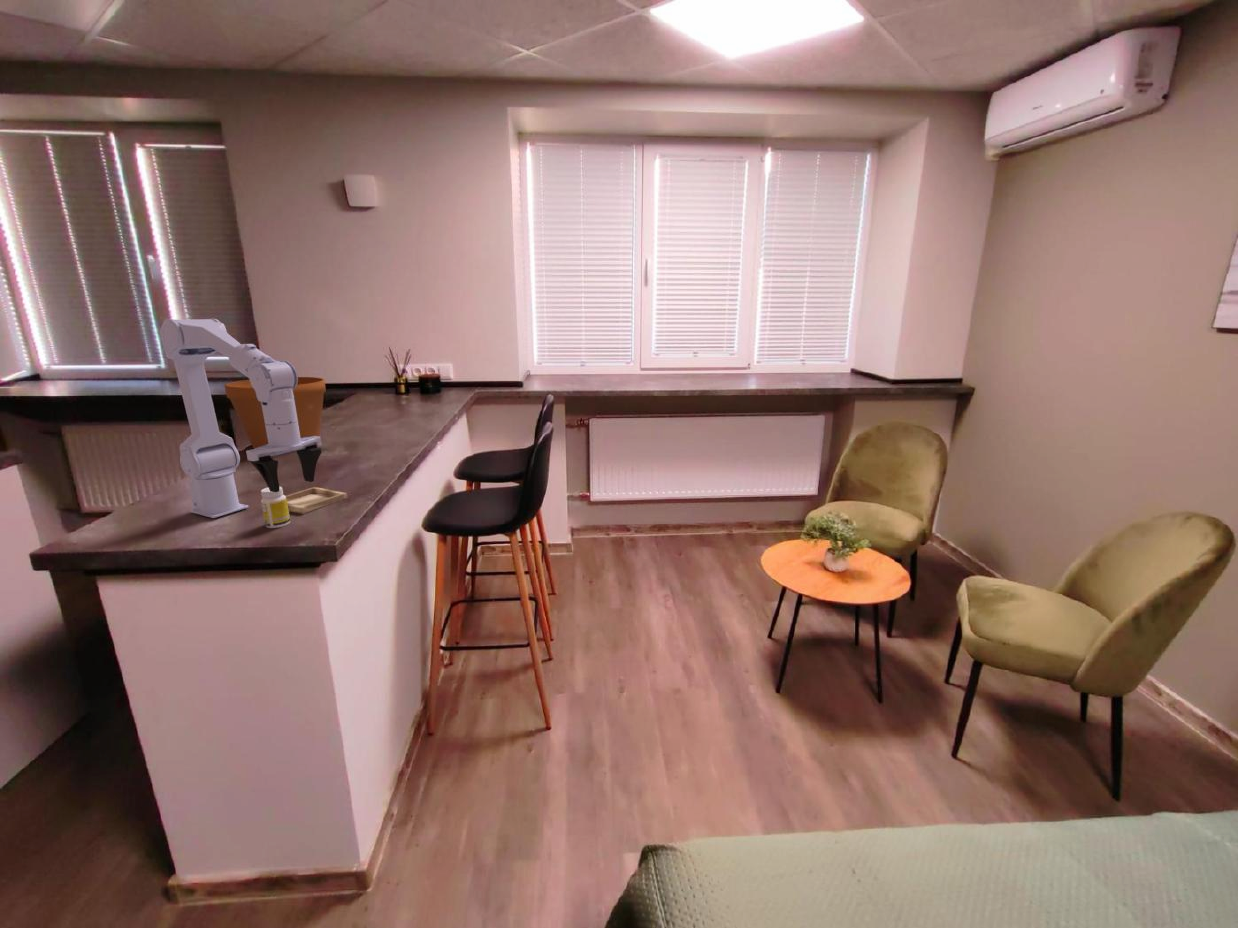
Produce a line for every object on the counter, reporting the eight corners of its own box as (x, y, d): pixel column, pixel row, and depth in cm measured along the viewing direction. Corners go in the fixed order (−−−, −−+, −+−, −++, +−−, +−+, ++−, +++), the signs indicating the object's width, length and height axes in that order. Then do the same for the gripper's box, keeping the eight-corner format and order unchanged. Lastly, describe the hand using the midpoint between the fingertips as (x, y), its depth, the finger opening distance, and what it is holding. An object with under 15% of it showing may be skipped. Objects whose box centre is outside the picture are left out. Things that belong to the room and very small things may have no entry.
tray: (270, 507, 130) (269, 500, 130) (315, 493, 141) (314, 486, 140) (303, 515, 125) (302, 508, 125) (347, 499, 136) (346, 493, 135)
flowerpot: (291, 464, 167) (279, 388, 161) (216, 459, 173) (201, 386, 166) (351, 443, 194) (342, 378, 187) (285, 439, 199) (274, 376, 193)
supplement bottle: (294, 520, 123) (288, 485, 120) (283, 528, 118) (276, 492, 116) (273, 520, 122) (266, 485, 120) (260, 528, 118) (253, 492, 116)
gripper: (257, 431, 101) (270, 499, 105) (327, 417, 114) (336, 479, 117) (234, 427, 104) (248, 494, 108) (305, 415, 117) (314, 474, 120)
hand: (292, 486), depth 113 cm, fingers open, 7 cm apart
